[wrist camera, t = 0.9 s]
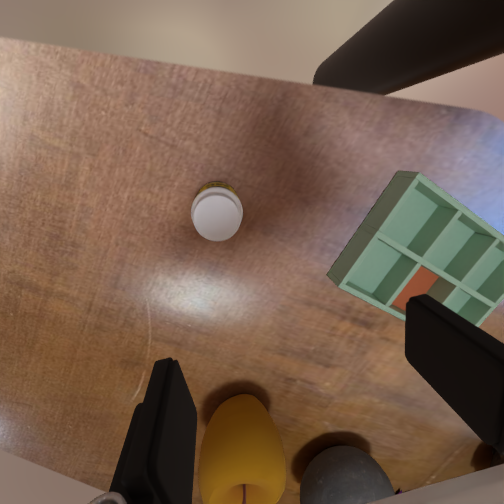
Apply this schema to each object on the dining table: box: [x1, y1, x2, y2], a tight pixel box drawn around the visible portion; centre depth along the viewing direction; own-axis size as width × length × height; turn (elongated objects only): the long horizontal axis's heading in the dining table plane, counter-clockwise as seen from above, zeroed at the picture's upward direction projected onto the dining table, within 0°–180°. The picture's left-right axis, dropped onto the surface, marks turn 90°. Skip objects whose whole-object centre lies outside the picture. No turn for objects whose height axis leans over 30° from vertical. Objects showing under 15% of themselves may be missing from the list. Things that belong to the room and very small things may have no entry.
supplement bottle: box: [191, 181, 243, 241], centre depth 26 cm, size 5×5×8 cm
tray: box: [327, 171, 504, 327], centre depth 35 cm, size 15×22×4 cm
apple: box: [198, 394, 286, 504], centre depth 35 cm, size 11×11×13 cm
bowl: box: [300, 446, 395, 504], centre depth 43 cm, size 15×15×10 cm
